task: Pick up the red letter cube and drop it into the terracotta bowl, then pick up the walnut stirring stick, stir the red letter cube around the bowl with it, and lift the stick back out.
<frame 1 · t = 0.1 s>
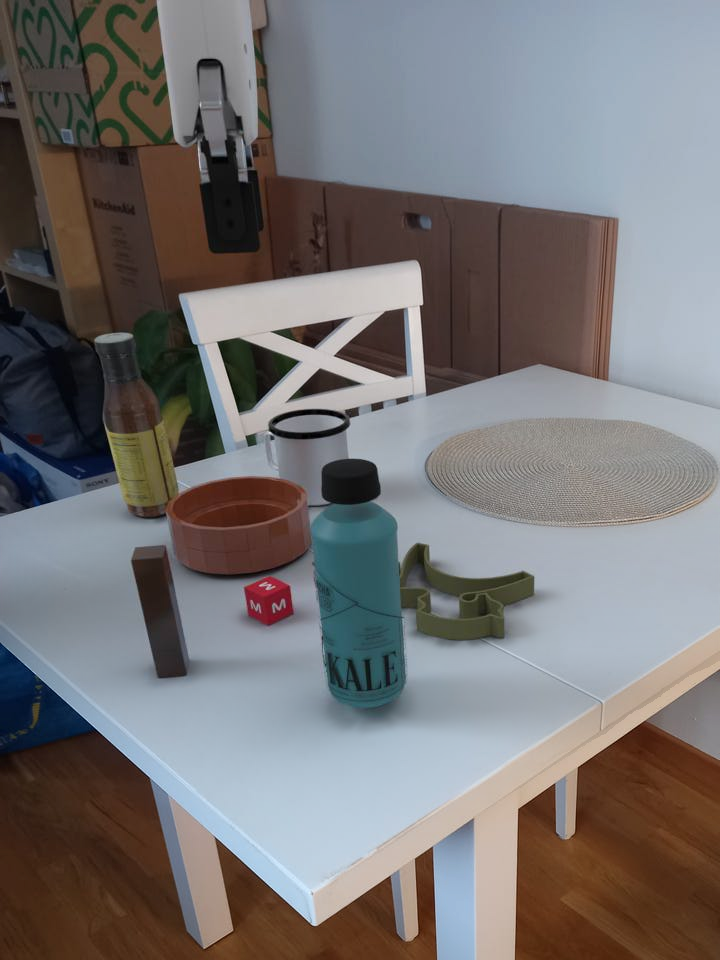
hand: (239, 241, 63), 33 cm above the table, tool pointing down, fingers open, 9 cm apart
sauce bottle: (153, 511, 108), on the table
red letter cube: (271, 616, 86), on the table
cookie cutter: (440, 600, 89), on the table
bowl: (244, 549, 99), on the table
beverage bottle: (369, 704, 74), on the table
stick: (173, 669, 78), on the table
mug: (308, 493, 112), on the table
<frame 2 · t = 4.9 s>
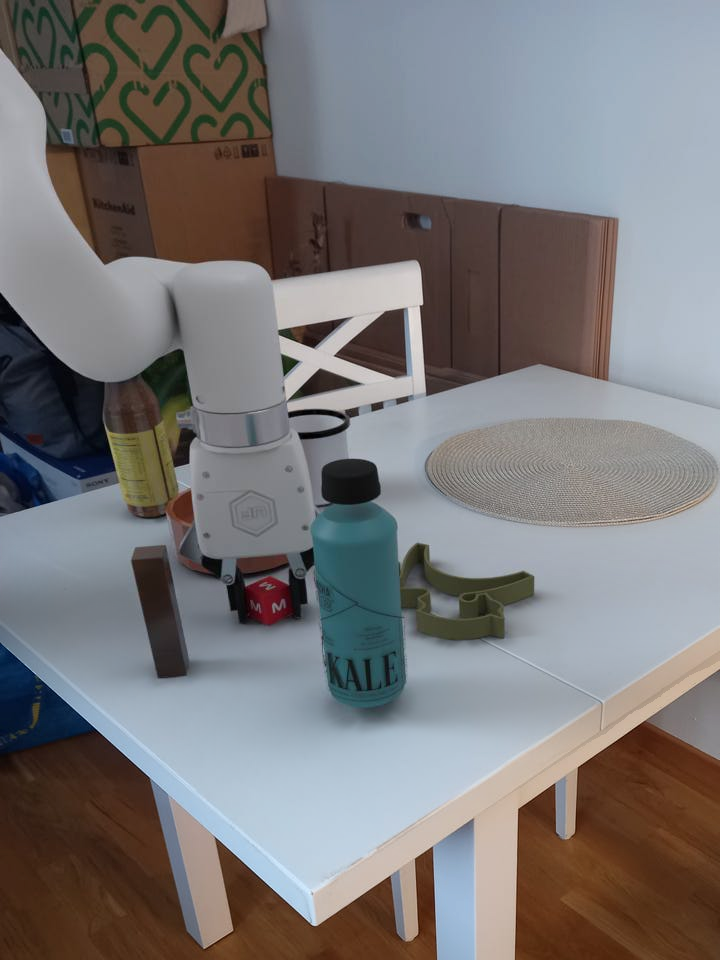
hand: (270, 611, 86), 0 cm above the table, tool pointing down, fingers closed on red letter cube, 4 cm apart
red letter cube: (271, 616, 86), on the table, touching gripper
everything else where it was.
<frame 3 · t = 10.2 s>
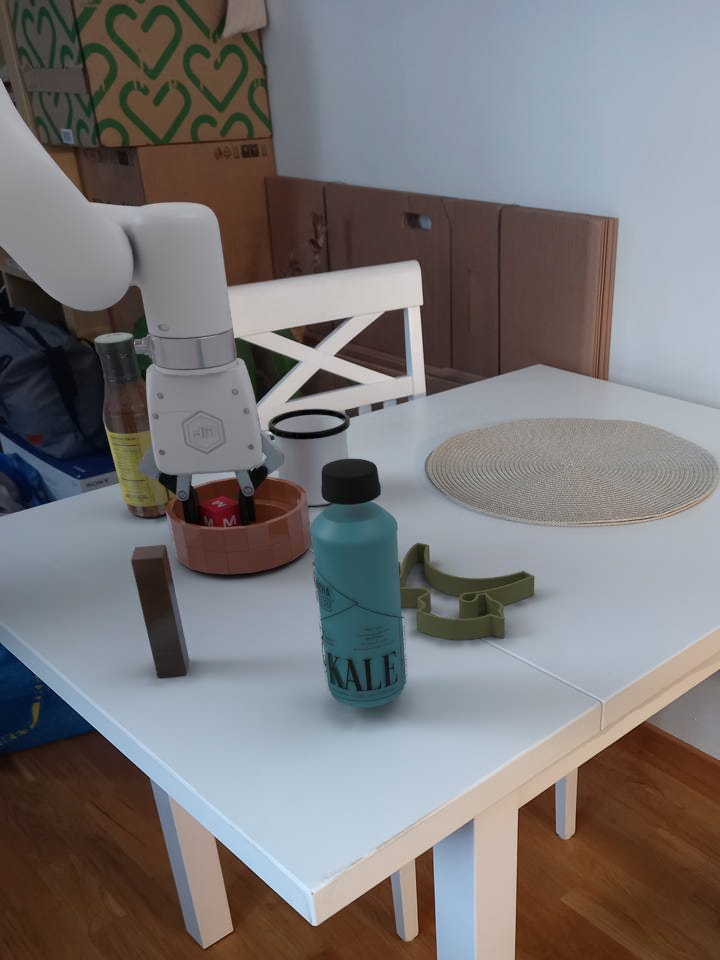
hand: (222, 528, 95), 3 cm above the table, tool pointing down, fingers closed on red letter cube, 4 cm apart
red letter cube: (223, 532, 96), point 3 cm above the table, touching gripper
everything else where it was.
when the fingers open (3 cm above the table, at t = 18.2 s): red letter cube stays where it is, resting on bowl.
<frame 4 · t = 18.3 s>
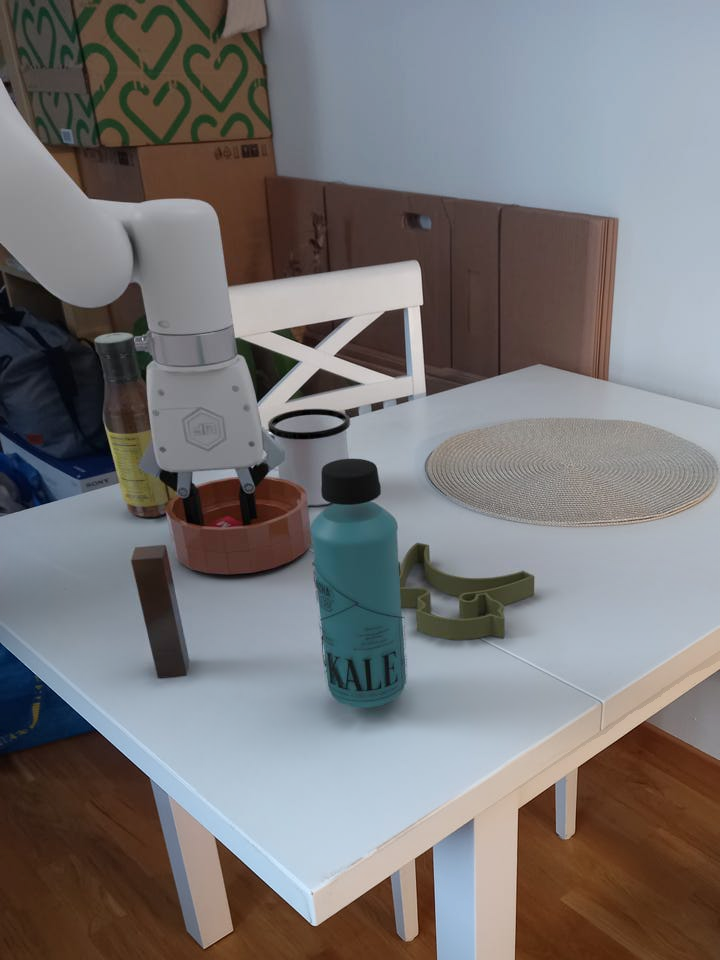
hand: (223, 525, 95), 4 cm above the table, tool pointing down, fingers open, 4 cm apart
red letter cube: (229, 552, 97), resting on bowl, touching gripper
everything else where it was.
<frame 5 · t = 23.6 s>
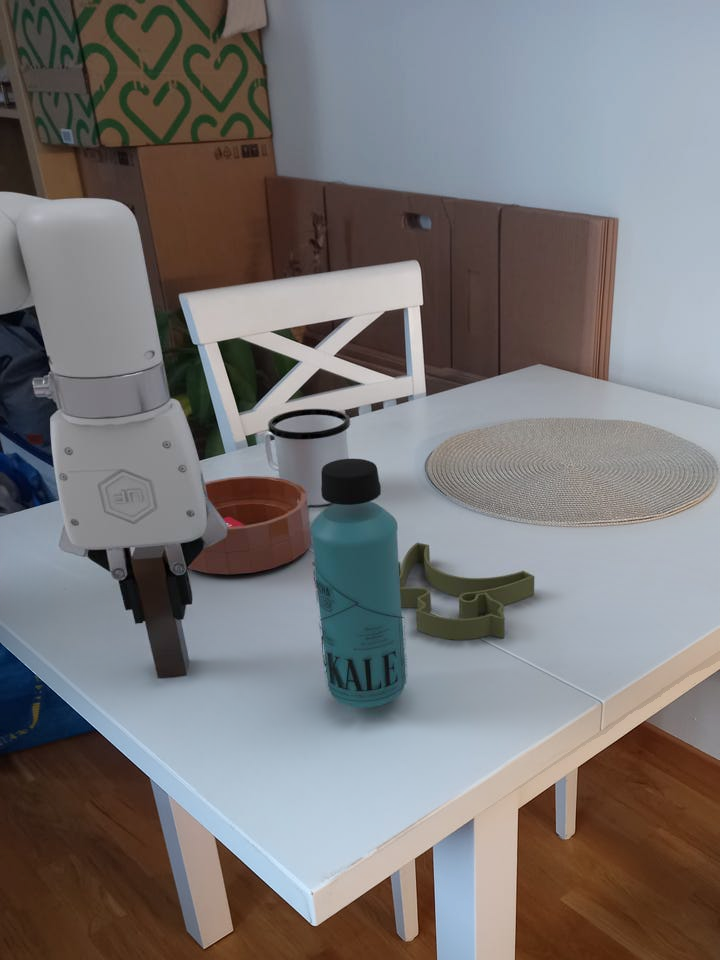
hand: (161, 612, 76), 6 cm above the table, tool pointing down, fingers closed on stick, 2 cm apart
red letter cube: (229, 552, 97), resting on bowl
stick: (173, 669, 78), on the table, touching gripper
everything else where it was.
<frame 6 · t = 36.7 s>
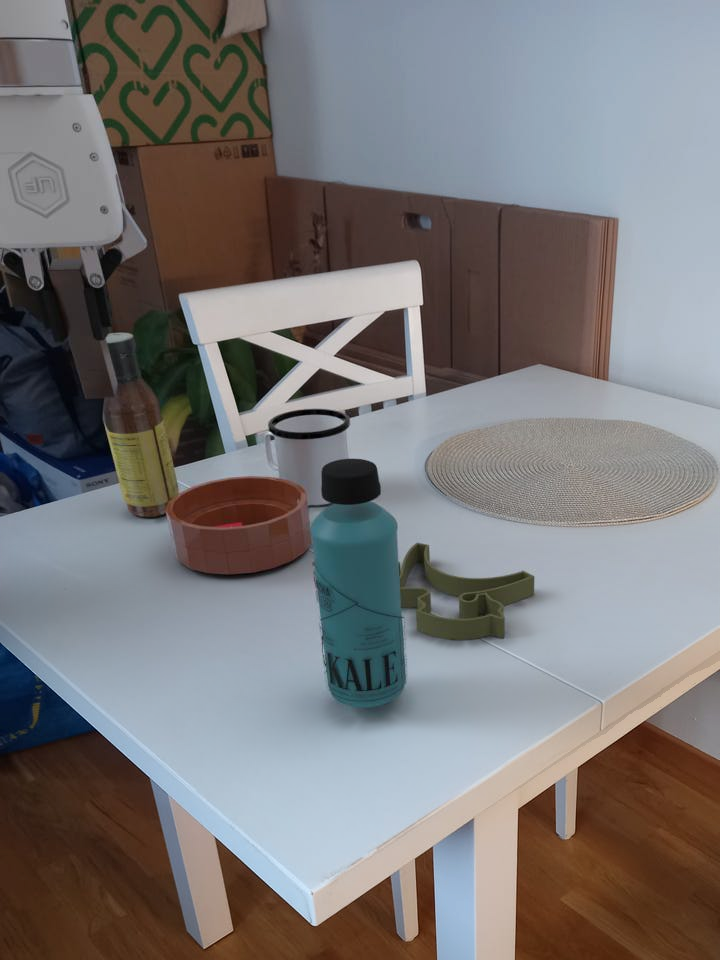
hand: (82, 335, 75), 25 cm above the table, tool pointing down, fingers closed on stick, 2 cm apart
red letter cube: (233, 558, 96), resting on bowl
stick: (102, 391, 80), point 20 cm above the table, tilted 13°, touching gripper
everything else where it was.
at the end: red letter cube inside the target area in the bowl (3.1 cm from its centre), point 0.4 cm above the bowl's base; the gripper is holding stick; stick point 19.9 cm above the table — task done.
